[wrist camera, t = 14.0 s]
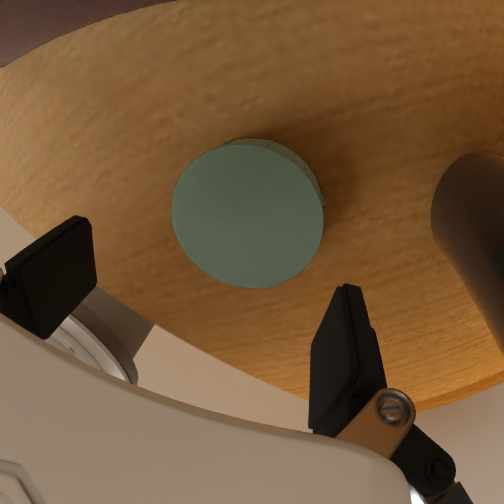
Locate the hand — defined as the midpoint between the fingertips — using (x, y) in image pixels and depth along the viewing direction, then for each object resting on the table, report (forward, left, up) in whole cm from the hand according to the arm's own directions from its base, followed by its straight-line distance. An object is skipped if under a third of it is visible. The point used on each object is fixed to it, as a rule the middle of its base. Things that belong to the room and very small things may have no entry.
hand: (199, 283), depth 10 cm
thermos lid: (+1, 0, -4) cm, 4 cm away
